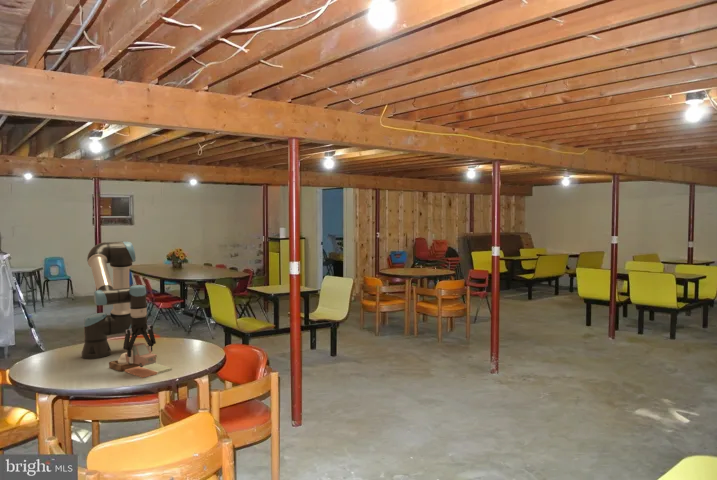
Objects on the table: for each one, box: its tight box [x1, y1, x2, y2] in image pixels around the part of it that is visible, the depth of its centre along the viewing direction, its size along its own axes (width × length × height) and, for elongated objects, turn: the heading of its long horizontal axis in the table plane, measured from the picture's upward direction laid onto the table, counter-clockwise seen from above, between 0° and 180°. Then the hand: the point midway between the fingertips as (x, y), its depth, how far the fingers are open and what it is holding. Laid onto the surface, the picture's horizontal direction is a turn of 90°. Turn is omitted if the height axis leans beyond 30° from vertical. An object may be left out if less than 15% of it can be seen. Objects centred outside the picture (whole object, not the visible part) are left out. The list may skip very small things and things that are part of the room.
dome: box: [117, 352, 128, 365], centre depth 284 cm, size 8×8×7 cm
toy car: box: [125, 341, 158, 367], centre depth 272 cm, size 9×15×10 cm, turn 60°
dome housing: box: [108, 359, 140, 372], centre depth 285 cm, size 12×12×3 cm
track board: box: [124, 362, 173, 378], centre depth 277 cm, size 17×16×1 cm
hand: (140, 360), depth 273 cm, fingers closed on toy car, 9 cm apart
